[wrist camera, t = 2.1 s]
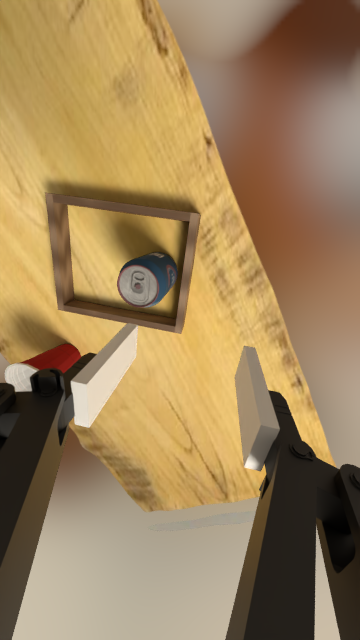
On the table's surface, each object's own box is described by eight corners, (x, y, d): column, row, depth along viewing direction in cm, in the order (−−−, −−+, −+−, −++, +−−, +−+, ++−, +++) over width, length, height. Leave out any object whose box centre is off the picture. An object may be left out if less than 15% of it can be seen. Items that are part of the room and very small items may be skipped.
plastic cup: (39, 346, 51) (-10, 377, 40) (68, 326, 47) (23, 354, 36) (69, 379, 54) (31, 418, 43) (99, 363, 50) (66, 400, 39)
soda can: (174, 293, 40) (158, 317, 29) (139, 284, 41) (110, 304, 30) (182, 256, 38) (167, 267, 27) (144, 247, 38) (114, 254, 27)
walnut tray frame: (60, 195, 37) (45, 192, 34) (200, 215, 35) (198, 213, 31) (69, 304, 45) (58, 309, 42) (183, 326, 43) (180, 333, 39)
